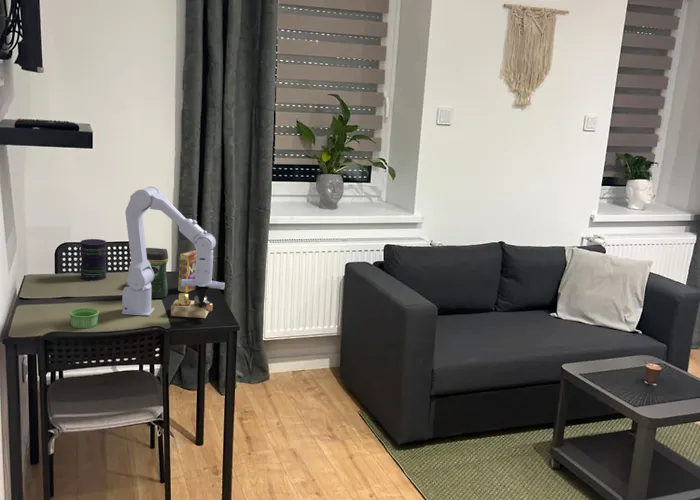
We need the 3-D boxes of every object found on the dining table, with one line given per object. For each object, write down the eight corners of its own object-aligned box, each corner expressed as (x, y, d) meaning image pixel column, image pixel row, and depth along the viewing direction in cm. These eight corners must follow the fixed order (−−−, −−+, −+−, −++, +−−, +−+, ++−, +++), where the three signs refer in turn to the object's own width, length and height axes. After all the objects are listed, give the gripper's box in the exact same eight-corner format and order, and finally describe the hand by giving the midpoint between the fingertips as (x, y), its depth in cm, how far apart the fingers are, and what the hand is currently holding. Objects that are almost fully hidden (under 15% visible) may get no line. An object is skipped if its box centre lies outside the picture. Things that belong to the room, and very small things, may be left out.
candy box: (186, 293, 266) (187, 255, 262) (177, 291, 267) (178, 253, 264) (200, 288, 274) (201, 251, 270) (191, 286, 275) (192, 249, 272)
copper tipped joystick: (204, 312, 234) (204, 304, 233) (192, 303, 242) (192, 295, 242) (216, 310, 236) (216, 303, 236) (203, 301, 245) (204, 294, 244)
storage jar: (76, 279, 272) (75, 243, 268) (86, 273, 281) (86, 238, 278) (100, 281, 271) (100, 245, 268) (110, 275, 281) (110, 240, 278)
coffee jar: (169, 293, 263) (170, 246, 259) (164, 299, 256) (165, 251, 252) (144, 292, 263) (144, 245, 259) (138, 298, 255) (139, 249, 251)
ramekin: (96, 319, 229) (96, 306, 228) (100, 328, 222) (100, 315, 221) (68, 321, 225) (67, 308, 224) (71, 330, 217) (71, 317, 217)
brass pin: (177, 314, 241) (177, 295, 239) (179, 311, 244) (179, 292, 242) (186, 315, 241) (187, 296, 239) (188, 312, 244) (189, 293, 242)
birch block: (170, 315, 238) (171, 306, 238) (175, 308, 246) (175, 299, 245) (205, 318, 239) (205, 308, 238) (209, 311, 247) (209, 301, 246)
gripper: (180, 270, 230) (178, 308, 233) (223, 274, 231) (220, 312, 234) (184, 265, 237) (182, 302, 240) (226, 269, 238) (223, 306, 241)
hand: (201, 306), depth 237 cm, fingers closed, pressing on copper tipped joystick
